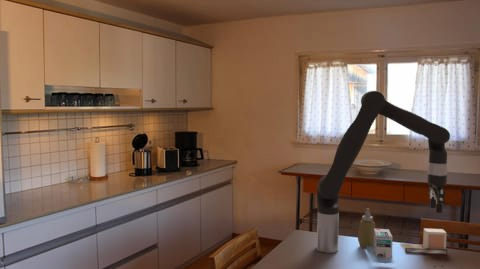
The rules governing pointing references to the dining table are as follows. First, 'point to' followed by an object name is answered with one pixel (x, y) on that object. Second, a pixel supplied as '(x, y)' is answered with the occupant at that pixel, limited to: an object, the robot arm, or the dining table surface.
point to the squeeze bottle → (366, 230)
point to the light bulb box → (383, 243)
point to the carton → (434, 238)
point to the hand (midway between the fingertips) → (435, 210)
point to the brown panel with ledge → (422, 249)
